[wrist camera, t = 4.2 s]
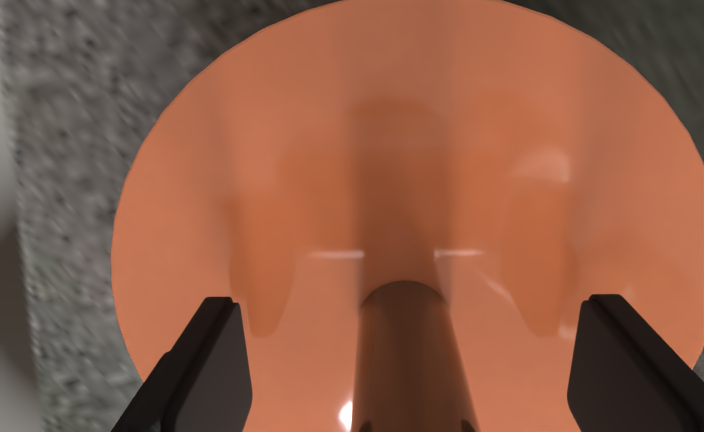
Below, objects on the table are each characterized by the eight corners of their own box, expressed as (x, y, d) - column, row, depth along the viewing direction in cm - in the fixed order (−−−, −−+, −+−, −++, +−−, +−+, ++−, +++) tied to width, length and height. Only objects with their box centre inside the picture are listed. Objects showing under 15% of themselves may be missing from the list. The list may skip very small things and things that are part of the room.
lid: (764, -22, 10) (1293, -104, 4) (635, 497, 16) (787, 768, 10) (70, 10, 11) (-271, -20, 5) (181, 488, 17) (76, 729, 11)
